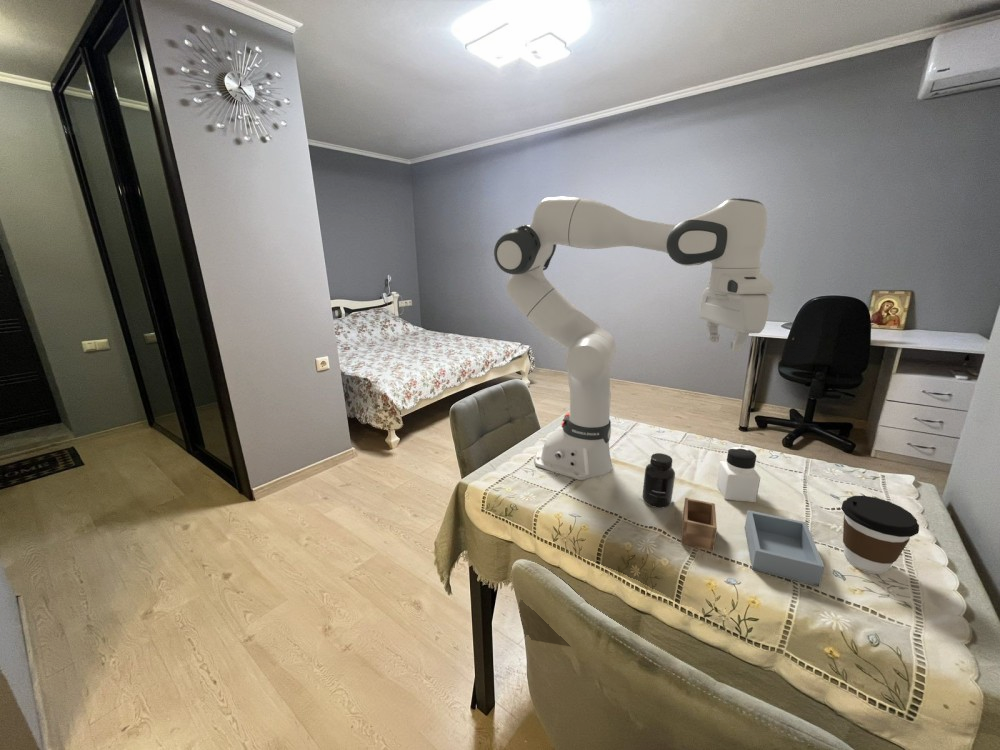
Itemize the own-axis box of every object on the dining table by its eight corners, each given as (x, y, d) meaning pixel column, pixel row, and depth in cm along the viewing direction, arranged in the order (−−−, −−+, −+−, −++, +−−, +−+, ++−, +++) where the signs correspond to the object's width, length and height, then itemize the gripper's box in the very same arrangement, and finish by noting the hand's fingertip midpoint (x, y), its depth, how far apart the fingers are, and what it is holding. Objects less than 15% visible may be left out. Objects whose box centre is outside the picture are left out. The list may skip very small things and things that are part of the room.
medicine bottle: (756, 502, 99) (764, 459, 95) (724, 499, 100) (731, 456, 96) (745, 486, 105) (752, 445, 102) (715, 484, 107) (722, 443, 103)
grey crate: (752, 569, 78) (755, 550, 77) (744, 527, 90) (747, 510, 89) (819, 586, 74) (824, 566, 73) (801, 540, 86) (806, 522, 84)
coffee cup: (832, 568, 78) (846, 516, 74) (827, 536, 87) (839, 488, 83) (909, 593, 72) (929, 537, 69) (896, 556, 81) (912, 504, 77)
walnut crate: (681, 544, 85) (684, 520, 84) (682, 520, 93) (685, 497, 91) (712, 552, 83) (716, 528, 81) (711, 526, 91) (714, 503, 89)
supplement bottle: (653, 511, 96) (658, 466, 93) (636, 495, 103) (640, 453, 99) (677, 505, 98) (683, 462, 95) (659, 490, 104) (664, 449, 101)
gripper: (695, 279, 95) (688, 336, 99) (745, 286, 75) (734, 357, 79) (722, 278, 95) (714, 336, 99) (779, 285, 75) (766, 357, 79)
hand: (723, 346), depth 89 cm, fingers open, 8 cm apart
